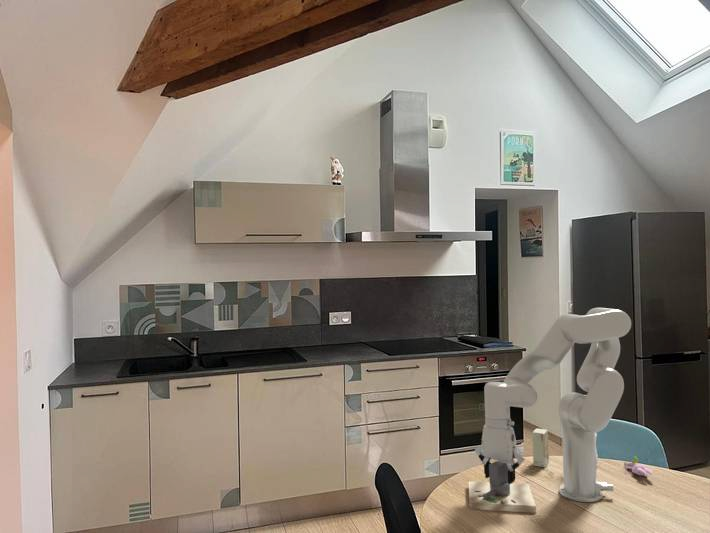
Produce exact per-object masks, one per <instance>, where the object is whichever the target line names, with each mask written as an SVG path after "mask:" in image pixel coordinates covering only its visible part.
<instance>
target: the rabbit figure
mask: <svg viewBox="0 0 710 533" xmlns="http://www.w3.org/2000/svg"><path fill="white" fill-rule="evenodd" d="M638 462H639V459H638V457H637V456H633V460H632V461H629V462H626V461H624V464H623V465H624V468H626V469H627V470H629V471H631V472H632V473H633V474H634V475H637V476H639V477H641V476H648V474H649V475H650V476H653V470H652V469H650V468H648V467H646V466H645V465H644V464H641V463H638Z"/></svg>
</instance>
